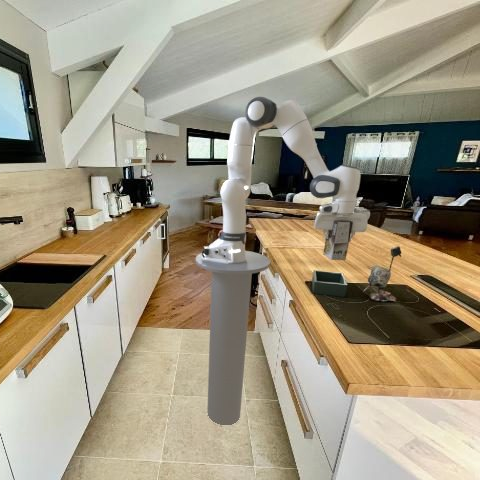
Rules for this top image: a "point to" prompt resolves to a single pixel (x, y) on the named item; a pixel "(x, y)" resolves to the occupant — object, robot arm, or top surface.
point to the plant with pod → (382, 279)
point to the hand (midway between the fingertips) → (336, 241)
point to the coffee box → (338, 240)
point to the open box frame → (329, 283)
